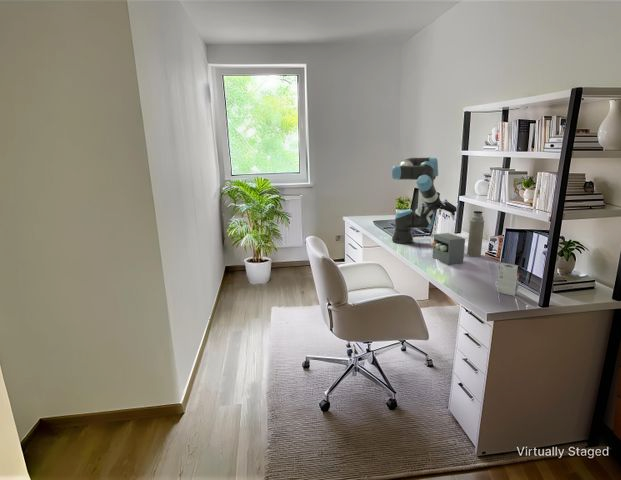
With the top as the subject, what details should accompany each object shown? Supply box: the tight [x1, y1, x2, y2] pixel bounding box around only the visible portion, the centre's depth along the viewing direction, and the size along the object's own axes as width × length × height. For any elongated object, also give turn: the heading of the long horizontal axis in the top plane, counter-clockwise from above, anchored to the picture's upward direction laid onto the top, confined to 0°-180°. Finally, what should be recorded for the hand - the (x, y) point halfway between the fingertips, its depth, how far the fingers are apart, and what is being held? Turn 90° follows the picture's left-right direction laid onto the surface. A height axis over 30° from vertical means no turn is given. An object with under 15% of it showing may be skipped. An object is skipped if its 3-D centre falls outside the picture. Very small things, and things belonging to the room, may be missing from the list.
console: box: [431, 232, 466, 266], centre depth 221 cm, size 16×10×15 cm, turn 15°
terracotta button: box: [430, 241, 440, 248], centre depth 224 cm, size 3×5×3 cm, turn 105°
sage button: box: [440, 245, 449, 251], centre depth 215 cm, size 3×5×3 cm, turn 105°
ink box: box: [495, 261, 520, 297], centre depth 169 cm, size 4×8×15 cm, turn 47°
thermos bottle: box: [466, 210, 485, 258], centre depth 231 cm, size 8×8×28 cm
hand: (441, 220), depth 217 cm, fingers open, 13 cm apart
